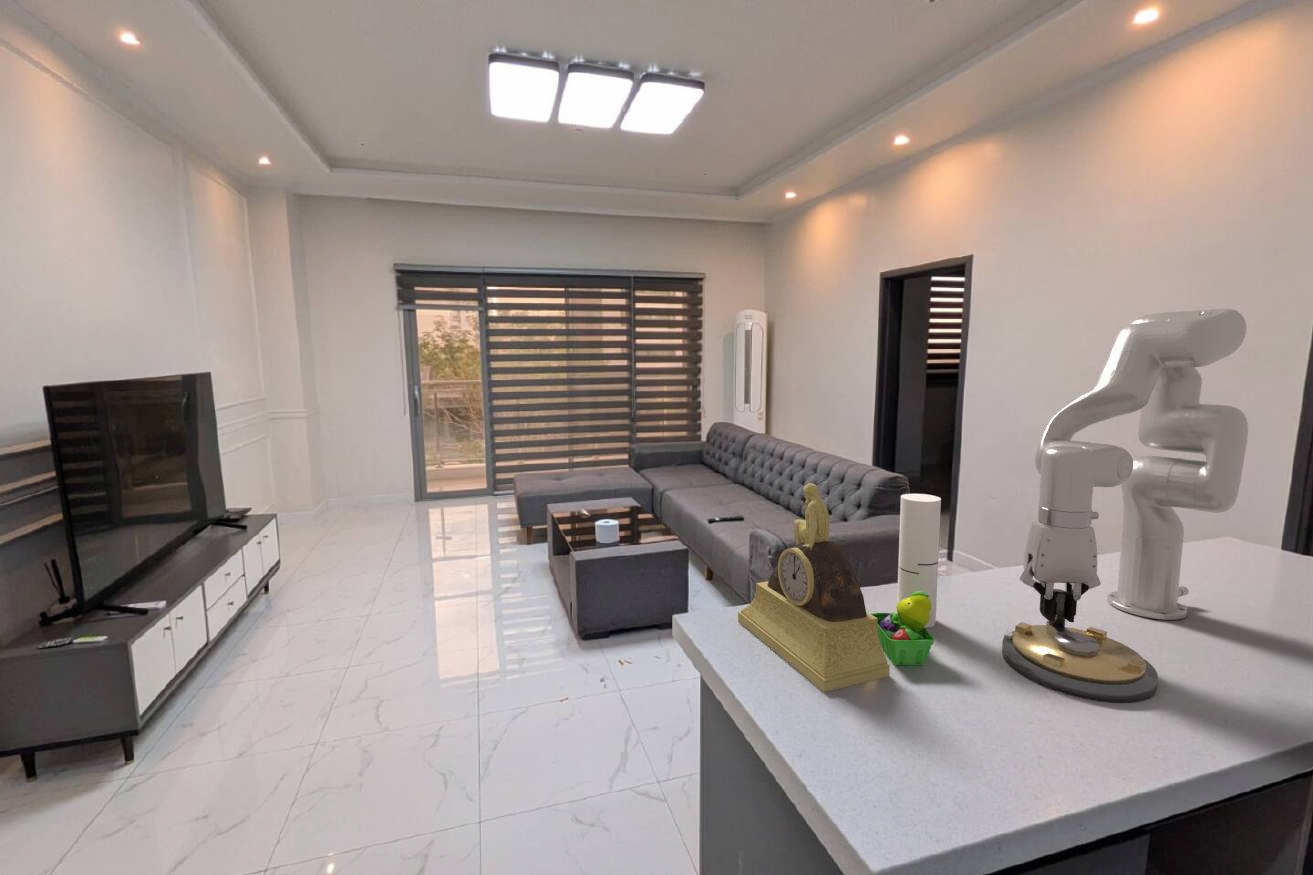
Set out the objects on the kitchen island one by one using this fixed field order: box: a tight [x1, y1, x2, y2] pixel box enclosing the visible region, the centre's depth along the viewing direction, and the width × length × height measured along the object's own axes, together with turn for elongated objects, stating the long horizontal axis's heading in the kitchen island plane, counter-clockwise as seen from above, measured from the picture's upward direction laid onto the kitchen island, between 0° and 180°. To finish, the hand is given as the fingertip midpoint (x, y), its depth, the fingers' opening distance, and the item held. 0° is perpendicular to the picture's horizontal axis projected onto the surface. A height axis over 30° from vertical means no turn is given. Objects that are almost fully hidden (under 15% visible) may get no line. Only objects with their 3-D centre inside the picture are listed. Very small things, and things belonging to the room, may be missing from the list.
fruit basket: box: [870, 591, 935, 666], centre depth 103 cm, size 11×9×11 cm
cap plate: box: [1001, 630, 1159, 704], centre depth 98 cm, size 21×21×3 cm
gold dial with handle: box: [1013, 588, 1146, 684], centre depth 97 cm, size 18×18×8 cm
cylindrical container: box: [896, 493, 942, 629], centre depth 116 cm, size 7×7×25 cm
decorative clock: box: [737, 482, 891, 693], centre depth 105 cm, size 28×13×30 cm, turn 20°
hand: (1057, 617), depth 104 cm, fingers closed on gold dial with handle, 2 cm apart
